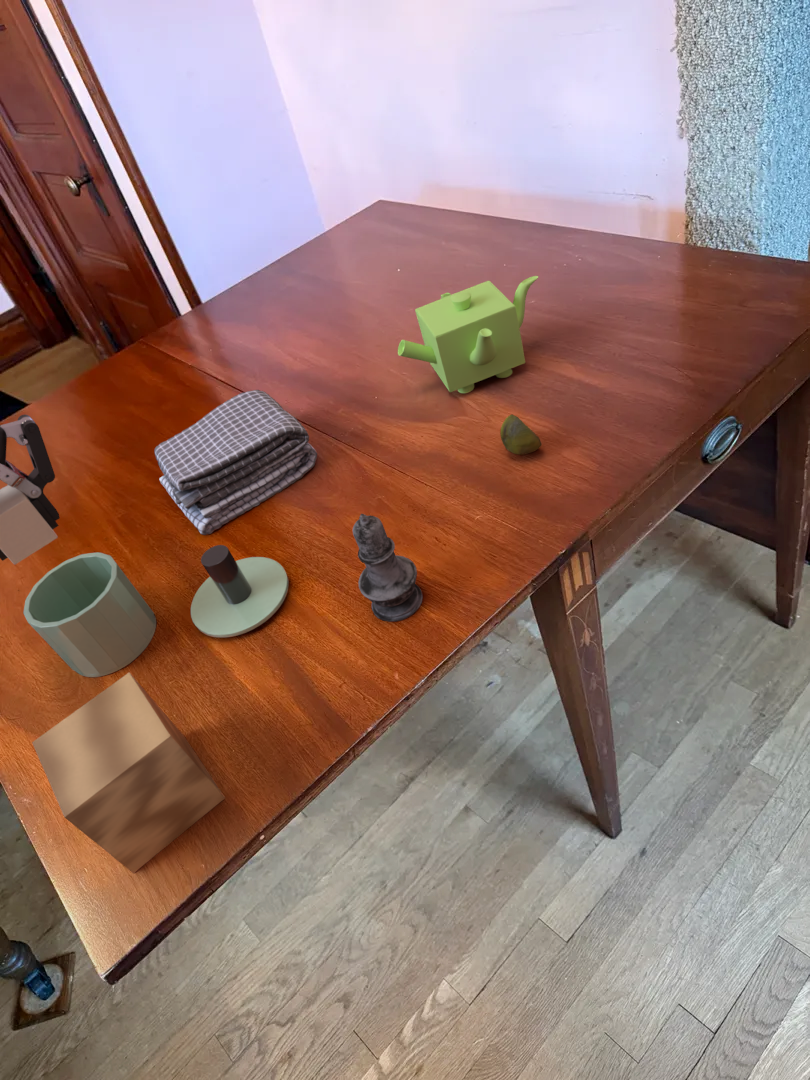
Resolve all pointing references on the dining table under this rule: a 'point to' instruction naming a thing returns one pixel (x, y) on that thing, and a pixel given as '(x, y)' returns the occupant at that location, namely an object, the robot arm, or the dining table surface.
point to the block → (21, 526)
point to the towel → (234, 459)
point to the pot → (90, 615)
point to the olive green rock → (518, 436)
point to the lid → (237, 593)
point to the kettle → (471, 335)
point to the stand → (126, 774)
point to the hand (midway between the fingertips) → (28, 538)
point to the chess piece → (385, 572)
